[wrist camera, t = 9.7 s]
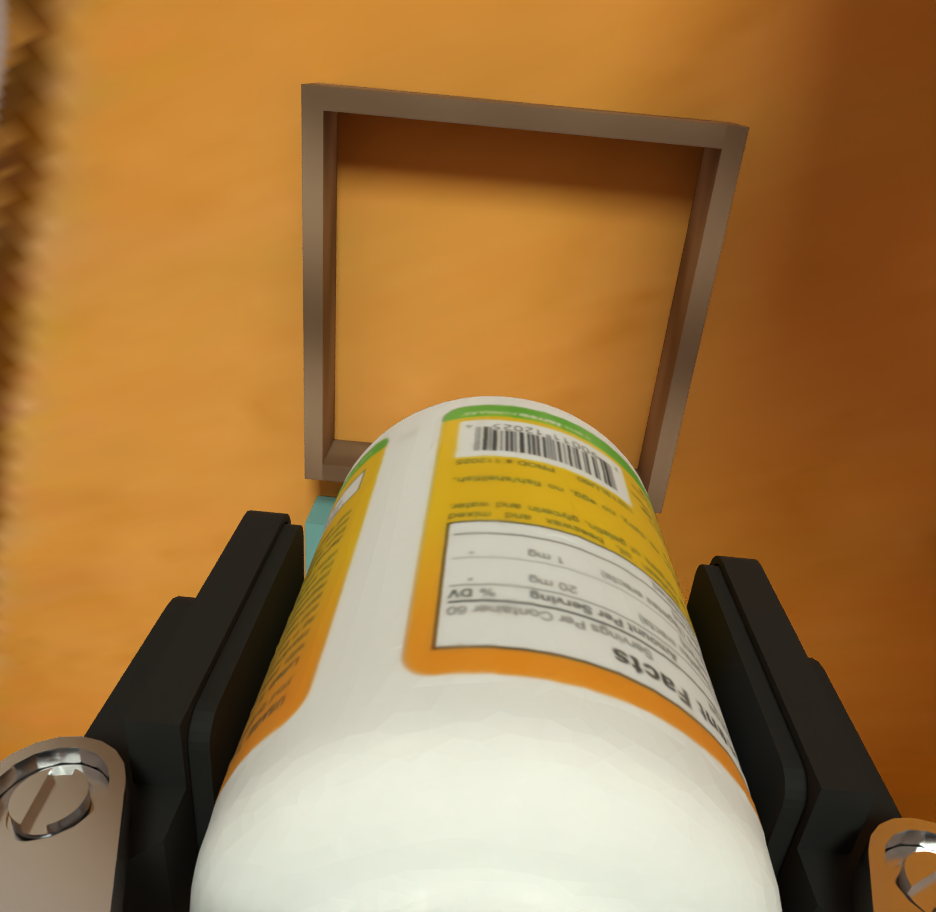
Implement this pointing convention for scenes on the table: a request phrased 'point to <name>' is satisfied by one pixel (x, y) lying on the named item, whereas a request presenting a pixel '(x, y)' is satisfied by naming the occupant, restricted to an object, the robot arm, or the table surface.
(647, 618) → the supplement bottle
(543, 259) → the table surface
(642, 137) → the walnut frame
